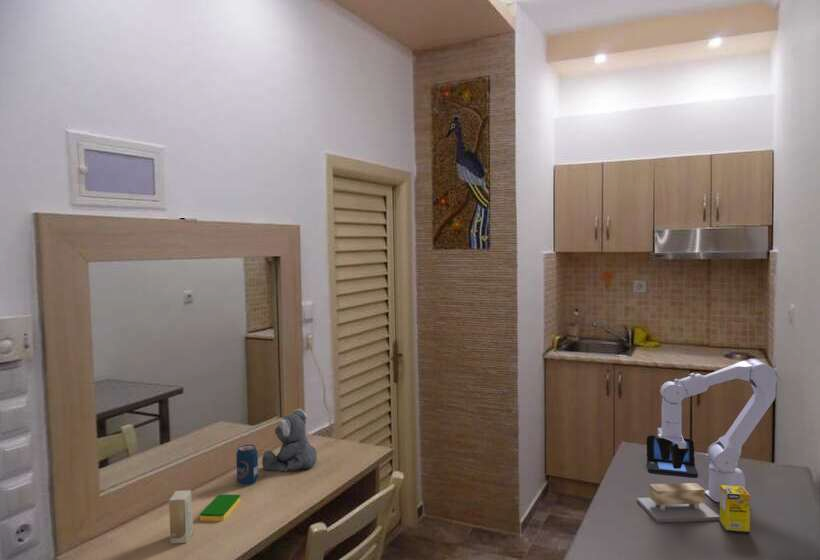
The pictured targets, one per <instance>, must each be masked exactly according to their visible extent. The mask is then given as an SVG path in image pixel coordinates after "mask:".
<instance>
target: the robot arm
mask: <svg viewBox="0 0 820 560" xmlns="http://www.w3.org/2000/svg"><path fill="white" fill-rule="evenodd" d="M736 379H738V380H741V381H745V382H750V386H751V388H752V391H753V394H752V395H751V397H750V398H749V400H747V403H746V404H745V405H744V407H743V408H742V410H741V412H739V414H738V416H737V417H736V419H735V420H734V422H733V423H732V425H731V426H730V427H729V429H728V430H727V432H726V433H725V434H724V435H722V436H720V437H719V438H718V439H717V441H715V442H713V443H711V444H710V445H709V446H708V449H707V456H708V458H709V459H710V463H709V464H708V489H705V496H708V497H709V498H710V499H712V500H713V501H714V502H716V503H720V485H727V486H742V487H743V488H744V489H745V490H746V478H745V474H744V472H743V470H741V469H740V468H738V465H739V463H738V462H739V460H740V459H739V458H740V457H741V454H742V448H743V447H742V446H743V445H744V444H745V443H746V441H747V440H748V438H749V436H750V435H751V434H752V433H753V431H754V429H755V428H756V426H757V425H758V424H759V422H760V421H761V419H762V418H763V416H764V415H765V414H766V412H767V411H768V409H769V408H770V406H771V405H772V404H773V402H774V401H775V400H776V395H777V393H776V392H777V390H776V389H777V380H778V376H777V374H776V372H775V370H774V368H773V367H772V366H770V365H769V364H766V363H764V362H762V361H761V360H759V359H758V358H749V359H747V360H742V361H741V360H740V361H738V362H736V363H734V364H731V365H729V366H726V367H724V368H721V369H718V370H715V371H713V372H710V373H708V374H705V375H704V374H700V373H694V372H692V373H689V376H687V377H686V376H685V377H683V378H679V379H678V378H675V379H674V380H673V381H665V382H664V383H663V384H661V387H660V389H659V393H660V395H661V396H662V398H661V399H662V400H661V427H657V435H654V436H655V439H656V441H657V443H658V446H659V449H660V454H661V458H662V459H663V460H669V458H670V452H671V456H672V464H673V468H674V469H681V466H682V463H683V459H684V457H685V455H686V453H687V452H688V451H689V448H688V447H687V446H686V442H685V441H684V439H685V438H684V437H683V434H682V431H683V430H682V423H683V422H682V416H683V415H682V414H683V412H682V411H683V410H682V409H683V407H682V402H683V400H685V399H684V398H689V397H692V396H696V395H698V394H702V393H704V392H707V390H708V389H709V387H710V386H713V385H717V384H721V383H724V382H728V381H732V380H736ZM683 438H684V439H683ZM672 443H674V444H675V446H674V445H672Z"/></svg>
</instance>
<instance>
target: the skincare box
mask: <svg viewBox="0 0 820 560" xmlns="http://www.w3.org/2000/svg"><path fill="white" fill-rule="evenodd" d="M168 504H169V506H168V507H169V509H168V510H169V527H170V528H169V532H170V533H169V534H170V544H174V545H175V544H187V543H188V541H189V539H191V536H192V534H193V530H194V529H193V526H194V525H193V508H192V507H193V505H192V490H190V489H187V490H176V491H174V493H173V494H172V495H171V497H170V498H169V499H168Z"/></svg>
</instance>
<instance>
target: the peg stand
mask: <svg viewBox="0 0 820 560" xmlns="http://www.w3.org/2000/svg"><path fill="white" fill-rule="evenodd" d="M636 502H637V503H638V504H639V505H640V506H641V507H642V508H643V509H644V511H646V512H647V513H648V515H650V516H651V517H652V518H653V520H655V521H656V523H678V522H679V523H680V522H684V523H685V522H711V521H712V522H715V521H720V514H717V512H716V511H714V510H713V509H711V507H709V506H708V505H706V504H705V503H698V504H668V505H657V504H656V503H655V502H654V501H653V500H652V499H651V498H650V497H637V498H636Z"/></svg>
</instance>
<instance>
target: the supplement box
mask: <svg viewBox="0 0 820 560" xmlns="http://www.w3.org/2000/svg"><path fill="white" fill-rule="evenodd" d="M750 514H751V494H750V493H749V492H748V491H747V490H746V488H745V489H744V488H743V487H742V486H727V485H720V502H719V516H720V520H719V524H720V526H721V527H722V528H723V530H724V531H725V532H726V533H728V534H740V535H741V534H743V535H749V534H750V530H751V529H750V528H751V527H750V524H751V523H750V521H751V518H750V517H751V515H750Z"/></svg>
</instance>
